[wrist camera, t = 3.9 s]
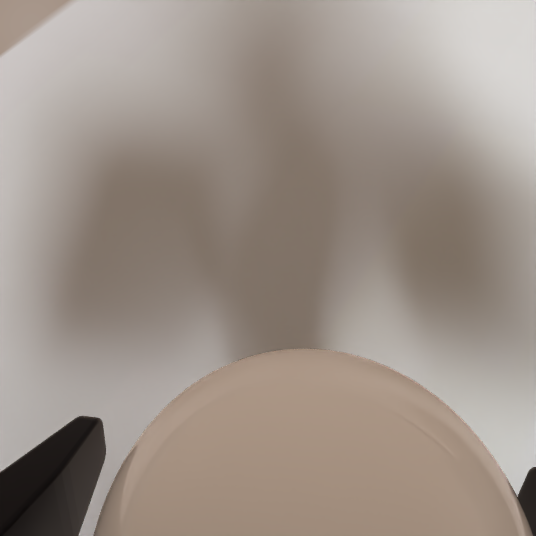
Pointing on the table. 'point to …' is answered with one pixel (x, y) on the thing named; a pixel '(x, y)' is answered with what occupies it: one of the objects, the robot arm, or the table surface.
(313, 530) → the lightbulb
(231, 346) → the table surface
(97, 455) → the robot arm
